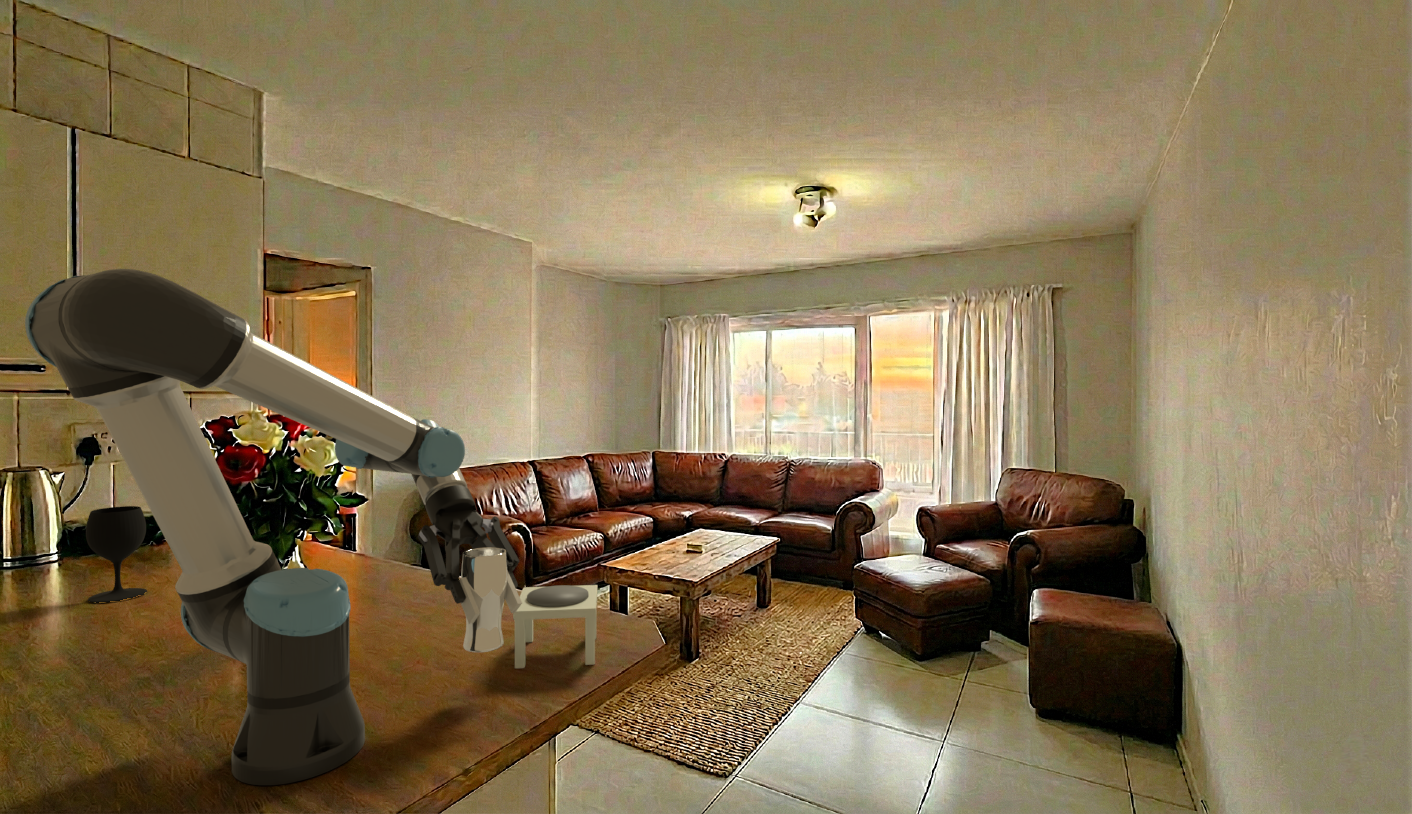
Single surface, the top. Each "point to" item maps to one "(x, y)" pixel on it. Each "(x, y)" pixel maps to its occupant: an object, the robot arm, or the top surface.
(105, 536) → the wine glass
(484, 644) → the beer glass
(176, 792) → the top surface
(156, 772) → the top surface
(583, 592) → the stool
